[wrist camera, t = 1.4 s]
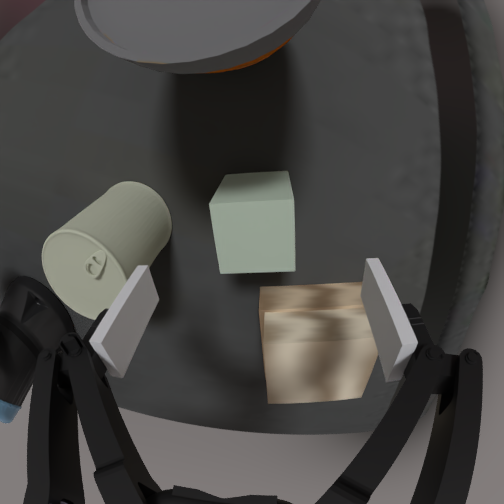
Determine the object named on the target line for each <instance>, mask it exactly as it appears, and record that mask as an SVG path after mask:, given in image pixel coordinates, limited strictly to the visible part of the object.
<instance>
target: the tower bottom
mask: <svg viewBox="0 0 504 504" xmlns="http://www.w3.org/2000/svg"><path fill="white" fill-rule="evenodd" d="M362 283H363V282H353V283H336V284H317V285H295V286H269V287H260V299H259V317H260V328H261V339H262V349H263V360H264V347H263V338H264V316H265V312H295V311H317V310H335V309H350V308H363V307H364V305H363V302H362V299H361V296H360V295H361V289H362ZM264 371H265V360H264ZM265 379H266V372H265Z"/></svg>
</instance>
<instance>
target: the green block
mask: <svg viewBox="0 0 504 504" xmlns="http://www.w3.org/2000/svg"><path fill="white" fill-rule="evenodd" d="M209 207H210V214H211V220H212V226H213V233H214V239H215V245H216V251H217V257H218V263H219V268H220V274H228V273H259V272H286V271H295V220H294V197H293V192H292V188H291V183H290V178H289V174H288V171H274V172H256V173H241V174H228V175H225V176H224V178H223V180H222V182H221V184H220V185H219V187H218V189H217V191H216V192H215V194H214V196H213V198H212V200H211V202H210V203H209Z"/></svg>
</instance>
